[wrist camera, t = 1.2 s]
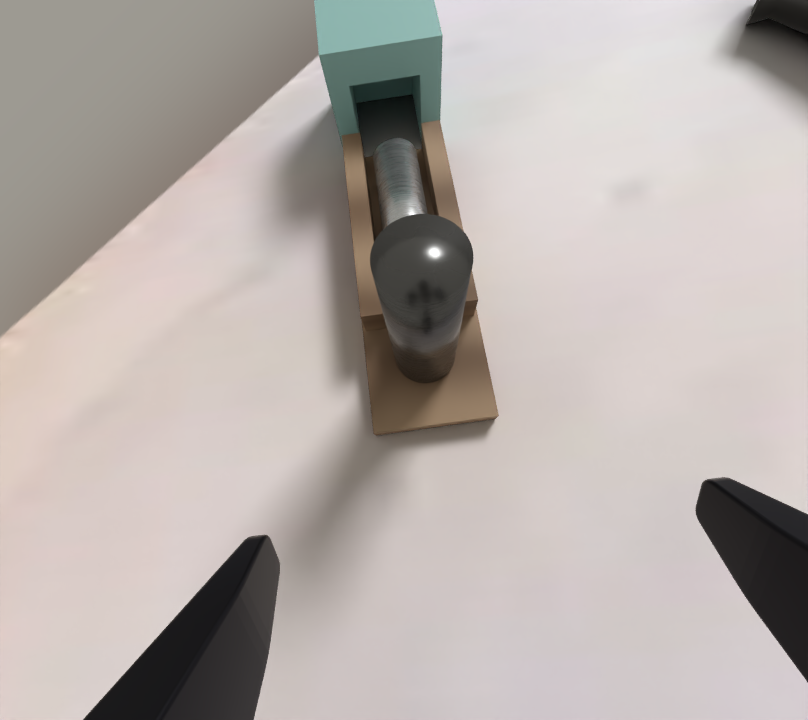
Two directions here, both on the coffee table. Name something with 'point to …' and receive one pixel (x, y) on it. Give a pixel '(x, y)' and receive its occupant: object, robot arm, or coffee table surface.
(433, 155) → the guide
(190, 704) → the robot arm
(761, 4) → the black handbell
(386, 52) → the socket block
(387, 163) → the slip rod
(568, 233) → the coffee table surface
